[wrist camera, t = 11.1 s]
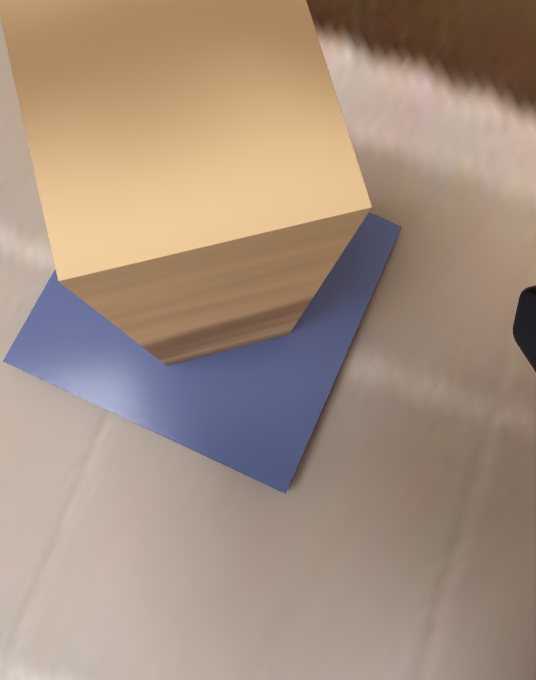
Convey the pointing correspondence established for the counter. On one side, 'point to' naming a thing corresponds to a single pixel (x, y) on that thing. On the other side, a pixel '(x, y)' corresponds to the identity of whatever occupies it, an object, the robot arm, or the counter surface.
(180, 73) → the oak block
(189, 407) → the blue tile
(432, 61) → the counter surface
